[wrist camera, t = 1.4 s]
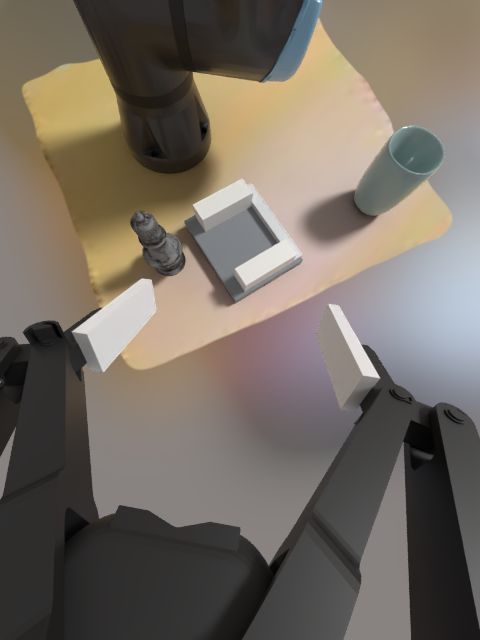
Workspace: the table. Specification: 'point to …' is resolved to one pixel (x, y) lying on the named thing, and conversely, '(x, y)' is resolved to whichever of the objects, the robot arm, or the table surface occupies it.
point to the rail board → (242, 239)
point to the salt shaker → (158, 244)
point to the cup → (398, 169)
